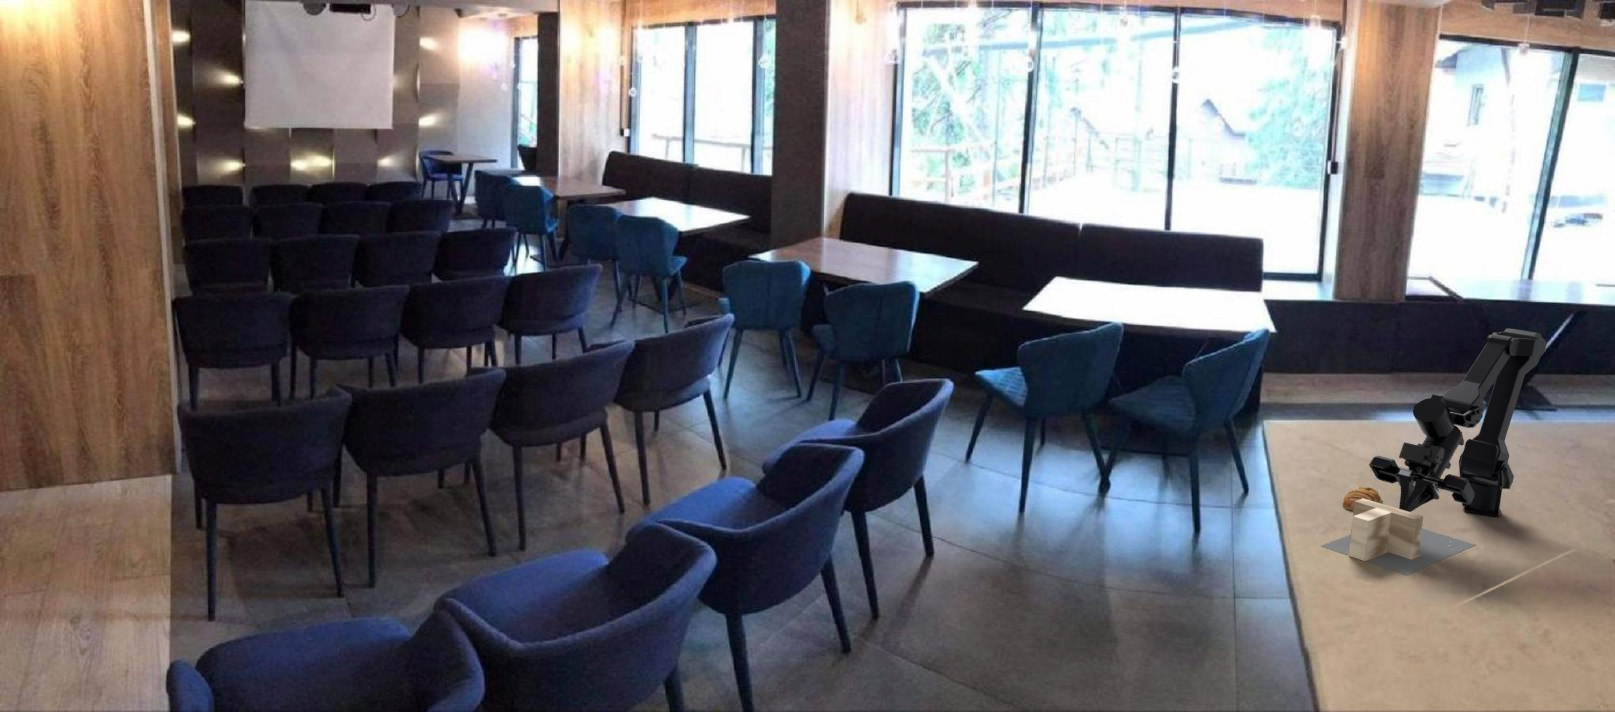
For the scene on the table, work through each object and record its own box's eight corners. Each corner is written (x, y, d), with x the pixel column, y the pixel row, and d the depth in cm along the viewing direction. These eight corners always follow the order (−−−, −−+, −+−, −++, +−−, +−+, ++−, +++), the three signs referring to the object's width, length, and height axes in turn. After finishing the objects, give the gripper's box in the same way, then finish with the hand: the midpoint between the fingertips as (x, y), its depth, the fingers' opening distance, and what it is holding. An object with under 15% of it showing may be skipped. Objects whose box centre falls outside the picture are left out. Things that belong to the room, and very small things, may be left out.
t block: (1358, 536, 231) (1362, 498, 230) (1418, 555, 222) (1423, 516, 220) (1326, 548, 225) (1331, 509, 223) (1387, 568, 216) (1391, 528, 214)
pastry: (1366, 517, 244) (1368, 500, 243) (1333, 509, 248) (1335, 492, 248) (1384, 506, 250) (1385, 489, 249) (1352, 499, 255) (1353, 482, 254)
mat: (1391, 521, 241) (1391, 519, 241) (1475, 546, 227) (1476, 544, 227) (1320, 547, 227) (1320, 545, 226) (1405, 577, 213) (1406, 574, 213)
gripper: (1378, 416, 234) (1342, 479, 230) (1474, 439, 219) (1437, 506, 215) (1396, 447, 240) (1360, 508, 236) (1490, 470, 225) (1454, 537, 221)
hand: (1401, 514), depth 227 cm, fingers closed
